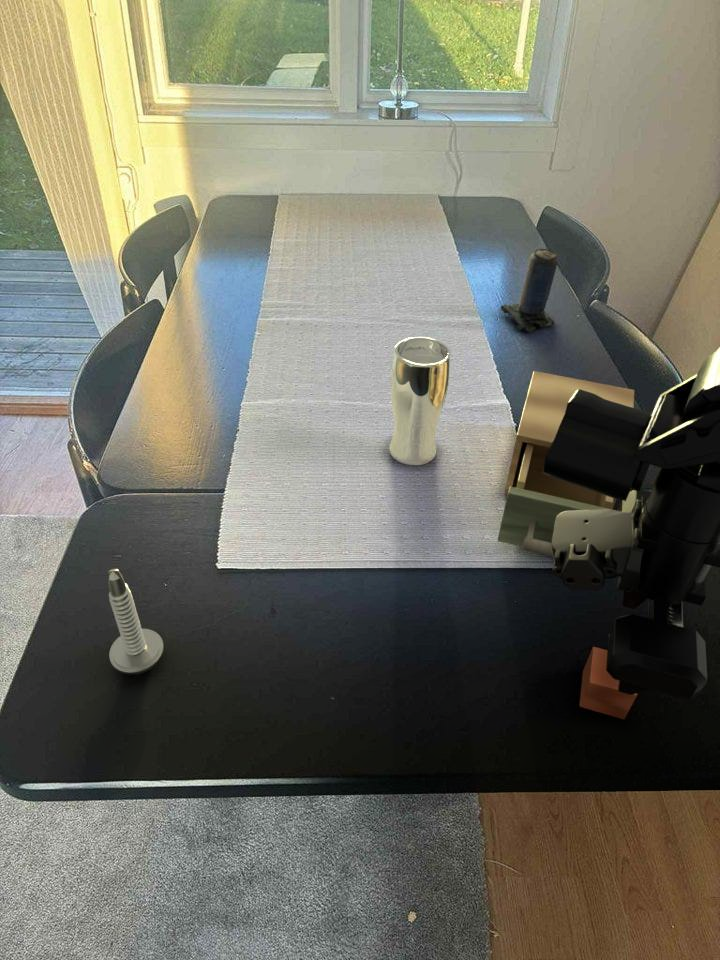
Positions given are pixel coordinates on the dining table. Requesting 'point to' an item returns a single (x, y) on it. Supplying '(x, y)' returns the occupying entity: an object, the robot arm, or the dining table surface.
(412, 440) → the beer glass
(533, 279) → the grey post with base
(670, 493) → the robot arm
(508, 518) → the drawer
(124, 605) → the screw
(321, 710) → the dining table surface
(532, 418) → the cabinet
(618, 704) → the block
